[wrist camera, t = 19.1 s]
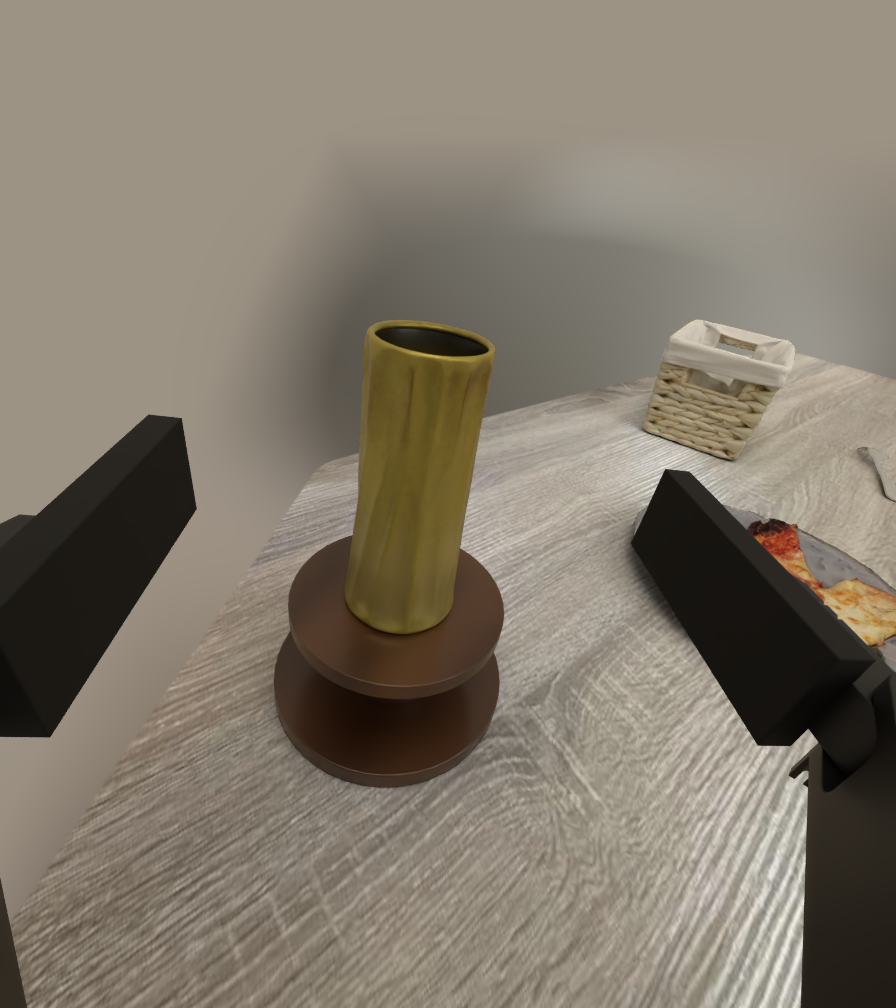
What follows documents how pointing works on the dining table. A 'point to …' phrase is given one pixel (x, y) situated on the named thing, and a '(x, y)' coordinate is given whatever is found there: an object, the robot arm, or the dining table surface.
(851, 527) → the dining table surface
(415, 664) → the stand
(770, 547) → the food plate
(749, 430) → the basket
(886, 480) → the fork
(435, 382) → the vase
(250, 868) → the dining table surface
